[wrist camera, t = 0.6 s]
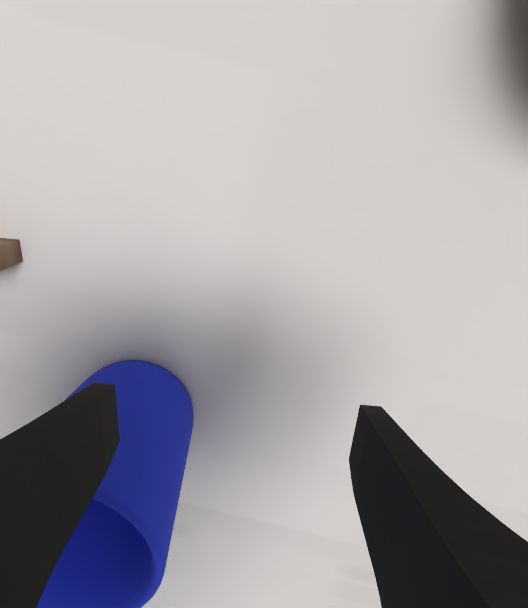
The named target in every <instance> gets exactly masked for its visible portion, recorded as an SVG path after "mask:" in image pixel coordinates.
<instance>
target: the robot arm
mask: <svg viewBox="0 0 528 608" xmlns="http://www.w3.org/2000/svg"><path fill="white" fill-rule="evenodd" d="M119 441H120V435H119V424H118V413H117V401H116V390H115V385H114V384H102V383H93V384H92V385H90V386H88V387H86V388H85V389H83V390H81V391H80V392H78V393H76V394H75V395H73V396H72V397H70V398H69V399H67V400H65V401H64V402H62V403H61V404H59V405H57V406H56V407H54V408H53V409H51V410H49V411H48V412H46V413H45V414H43V415H41V416H40V417H38V418H36V419H35V420H33V421H32V422H30V423H28V424H27V425H25V426H23V427H21V428H20V429H18V430H16V431H14V432H13V433H11V434H9V435H7V436H6V437H4V438H2V439H0V608H36V607H37V605H38V603H39V601H40V598H41V596H42V594H43V592H44V590H45V587H46V585H47V583H48V581H49V579H50V576H51V574H52V572H53V570H54V568H55V566H56V564H57V562H58V560H59V558H60V556H61V554H62V552H63V550H64V548H65V547H66V545H67V543H68V541H69V539H70V538H71V536H72V534H73V532H74V531H75V529H76V527H77V525H78V523H79V522H80V520H81V518H82V516H83V515H84V513H85V511H86V509H87V507H88V506H89V504H90V502H91V500H92V499H93V497H94V495H95V493H96V491H97V490H98V488H99V486H100V484H101V482H102V480H103V479H104V477H105V475H106V473H107V471H108V468H109V466H110V464H111V461H112V459H113V456H114V454H115V451H116V449H117V446H118V444H119ZM349 463H350V471H351V479H352V486H353V492H354V497H355V501H356V505H357V509H358V513H359V516H360V520H361V524H362V528H363V532H364V535H365V539H366V543H367V547H368V551H369V554H370V558H371V562H372V566H373V569H374V573H375V577H376V582H377V586H378V591H379V595H380V600H381V606H382V608H528V542H527V541H526V540H524V539H523V538H522V537H520V536H519V535H517V534H516V533H515V532H514V531H512V530H511V529H510V528H508V527H507V526H506V525H504V524H503V523H502V522H501V521H499V520H498V519H497V518H496V517H494V516H493V515H492V514H491V513H490V512H488V511H487V510H486V509H485V508H483V507H482V506H481V505H480V504H479V503H477V502H476V501H475V500H474V499H473V498H471V497H470V496H469V495H468V494H467V493H466V492H465V491H463V490H462V489H461V488H460V487H459V486H458V485H457V484H456V483H455V482H454V481H453V480H452V479H450V478H449V477H448V476H447V475H446V474H445V473H444V472H443V471H442V470H441V469H440V468H439V467H438V466H437V465H436V464H435V463H434V462H433V461H432V460H431V459H430V458H429V457H428V456H427V455H426V454H425V453H424V452H423V451H422V450H421V449H420V448H419V447H418V446H417V445H416V444H415V443H414V442H413V441H412V440H411V438H410V437H409V436H408V435H407V434H406V433H405V432H404V431H403V430H402V429H401V428H400V427H399V425H398V424H397V423H396V422H395V421H394V420H393V419H392V418H391V417H390V416H389V415H388V413H387V412H386V411H385V410H384V409H383V408H382V407H380V406H368V405H360V408H359V413H358V417H357V422H356V427H355V432H354V437H353V442H352V447H351V452H350V456H349Z"/></svg>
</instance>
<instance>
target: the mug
mask: <svg viewBox="0 0 528 608" xmlns="http://www.w3.org/2000/svg"><path fill="white" fill-rule="evenodd" d="M93 383H102V384H114V385H115V390H116V401H117V413H118V424H119V435H120V441H119V444H118V446H117V449H116V451H115V454H114V456H113V459H112V461H111V464H110V466H109V468H108V471H107V473H106V475H105V477H104V479H103V480H102V482H101V484H100V486H99V488H98V490H97V491H96V493H95V495H94V497H93V499H92V500H91V502H90V504H89V506H88V507H87V509H86V511H85V513H84V515H83V516H82V518H81V520H80V522H79V523H78V525H77V527H76V529H75V531H74V532H73V534H72V536H71V538H70V539H69V541H68V543H67V545H66V547H65V548H64V550H63V552H62V554H61V556H60V558H59V560H58V562H57V564H56V566H55V568H54V570H53V572H52V574H51V576H50V579H49V581H48V583H47V585H46V587H45V590H44V592H43V594H42V596H41V598H40V601H39V603H38V605H37V607H36V608H141V607H142V606H143V605H144V604H146V603H147V602H148V601H149V600H150V599H151V598H152V597H153V595H154V594H155V593H156V591H157V589H158V588H159V586H160V584H161V581H162V578H163V575H164V571H165V566H166V561H167V556H168V551H169V545H170V540H171V535H172V530H173V525H174V520H175V515H176V510H177V505H178V500H179V495H180V490H181V484H182V479H183V474H184V469H185V464H186V459H187V454H188V449H189V444H190V439H191V434H192V428H193V407H192V403H191V400H190V397H189V395H188V393H187V391H186V389H185V388H184V386H183V385H182V383H181V382H180V381H179V380H178V379H177V378H176V377H175V376H174V375H172V374H171V373H170V372H168V371H167V370H165V369H163V368H161V367H159V366H157V365H154V364H151V363H147V362H142V361H123V362H118V363H114V364H111V365H109V366H106V367H104V368H102V369H101V370H99V371H97V372H96V373H94V374H93V375H91V376H90V377H89V378H88V379H87V380H86V381H85V382H84V383H83V384H81V385H80V386H79V387H78V388H77V389H76V390H75V391H74V392H73V393H72V394H71V395H70V396H69V397H68V398H67V399H69V398H70V397H72V396H73V395H75V394H76V393H78V392H80V391H81V390H83V389H85V388H86V387H88V386H90V385H92V384H93ZM67 399H66V400H67Z"/></svg>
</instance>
